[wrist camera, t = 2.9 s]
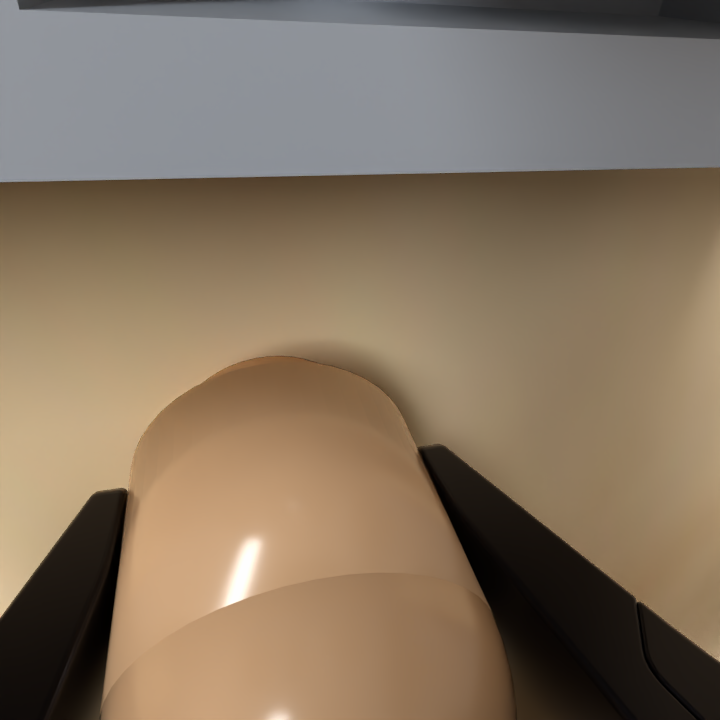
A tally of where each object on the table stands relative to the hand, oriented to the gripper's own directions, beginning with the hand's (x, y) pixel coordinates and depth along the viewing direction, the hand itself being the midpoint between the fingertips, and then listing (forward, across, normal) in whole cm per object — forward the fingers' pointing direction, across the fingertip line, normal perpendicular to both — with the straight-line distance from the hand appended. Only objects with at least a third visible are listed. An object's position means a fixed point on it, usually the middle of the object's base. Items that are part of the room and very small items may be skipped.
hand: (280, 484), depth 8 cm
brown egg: (+1, 0, 0) cm, 1 cm away
